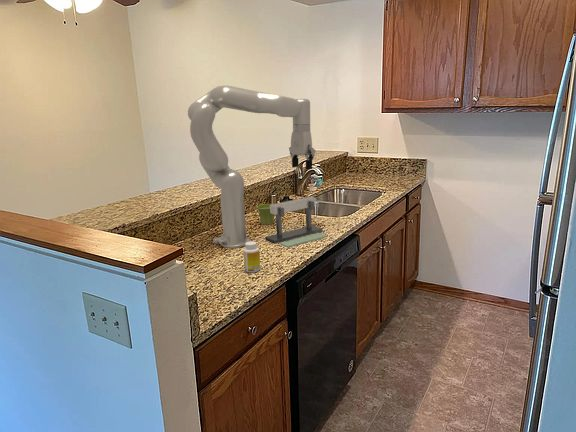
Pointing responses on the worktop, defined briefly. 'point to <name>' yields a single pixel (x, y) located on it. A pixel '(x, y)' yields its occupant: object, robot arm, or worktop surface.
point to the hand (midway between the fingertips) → (302, 168)
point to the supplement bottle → (251, 257)
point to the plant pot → (265, 214)
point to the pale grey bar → (292, 205)
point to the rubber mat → (303, 240)
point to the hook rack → (297, 232)
